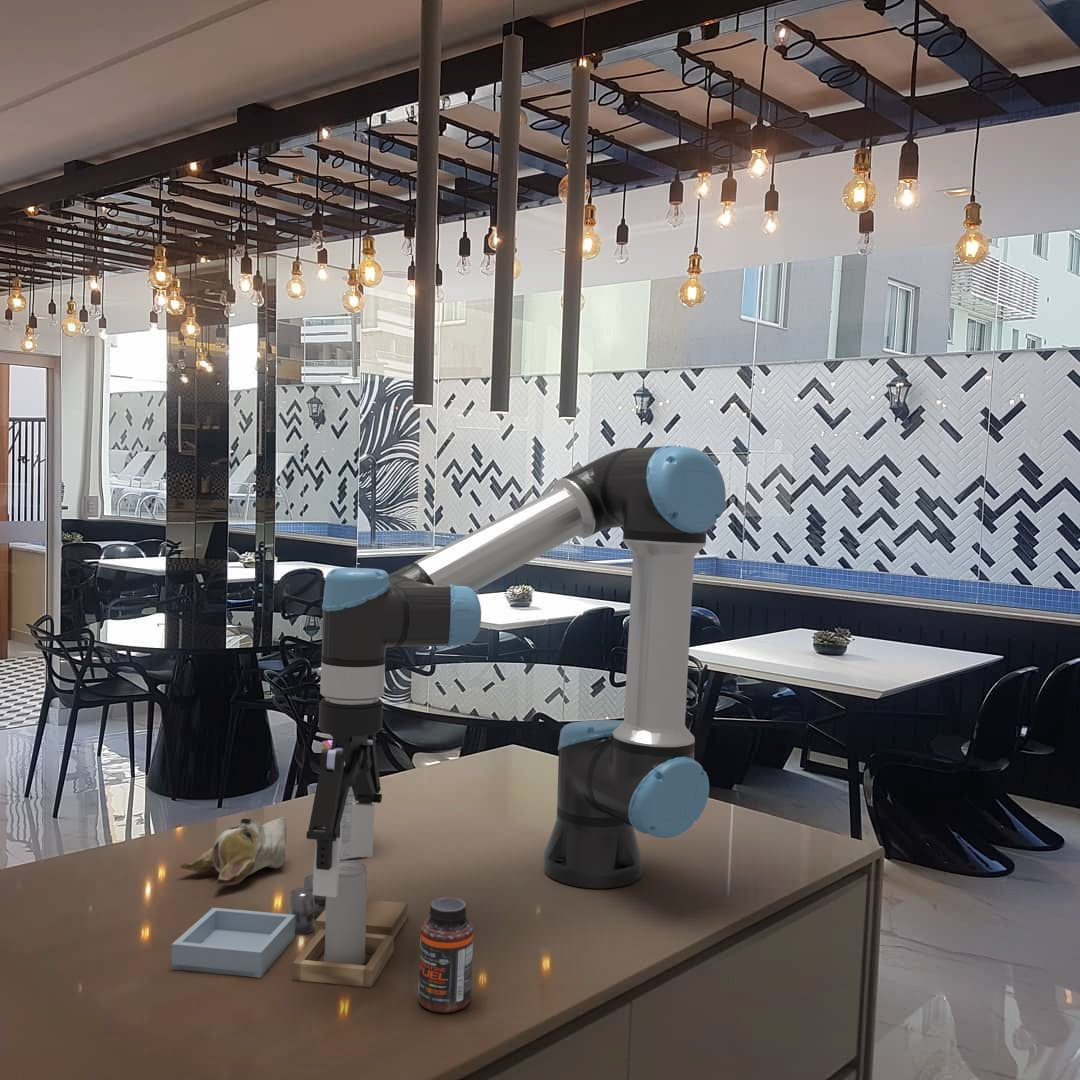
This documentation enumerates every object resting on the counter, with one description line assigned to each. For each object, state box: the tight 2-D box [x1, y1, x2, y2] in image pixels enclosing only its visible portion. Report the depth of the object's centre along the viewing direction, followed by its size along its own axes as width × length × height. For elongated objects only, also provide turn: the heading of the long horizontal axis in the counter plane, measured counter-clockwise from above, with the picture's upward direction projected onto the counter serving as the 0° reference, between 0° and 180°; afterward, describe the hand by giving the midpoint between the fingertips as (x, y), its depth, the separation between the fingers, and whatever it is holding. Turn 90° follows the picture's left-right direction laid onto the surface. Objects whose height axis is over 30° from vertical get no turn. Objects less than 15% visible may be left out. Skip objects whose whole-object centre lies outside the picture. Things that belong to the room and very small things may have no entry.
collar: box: [291, 929, 395, 988], centre depth 124 cm, size 10×10×2 cm
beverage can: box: [324, 860, 368, 965], centre depth 124 cm, size 5×5×12 cm
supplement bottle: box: [417, 896, 474, 1014], centre depth 116 cm, size 6×6×11 cm
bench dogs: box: [289, 873, 326, 936], centre depth 136 cm, size 3×8×5 cm, turn 173°
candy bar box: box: [321, 739, 366, 861], centre depth 164 cm, size 11×5×16 cm, turn 26°
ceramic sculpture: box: [179, 815, 288, 886], centre depth 152 cm, size 11×9×15 cm
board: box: [314, 899, 409, 939], centre depth 135 cm, size 10×8×2 cm
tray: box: [170, 907, 296, 979], centre depth 126 cm, size 11×11×3 cm
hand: (344, 874), depth 124 cm, fingers open, 13 cm apart
